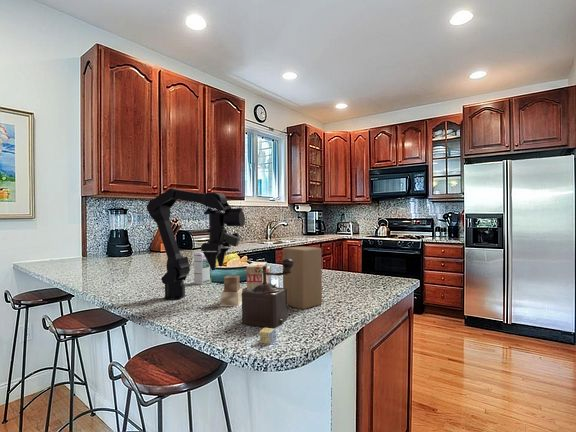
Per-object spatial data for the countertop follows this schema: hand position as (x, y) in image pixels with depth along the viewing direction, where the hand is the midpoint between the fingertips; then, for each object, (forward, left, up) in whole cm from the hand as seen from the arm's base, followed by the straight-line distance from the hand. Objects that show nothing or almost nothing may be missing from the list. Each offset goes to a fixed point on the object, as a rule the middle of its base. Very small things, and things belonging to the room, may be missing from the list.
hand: (217, 268), depth 126 cm
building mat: (+5, -6, -12) cm, 15 cm away
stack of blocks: (+13, +16, -12) cm, 24 cm away
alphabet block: (+25, -40, -12) cm, 49 cm away
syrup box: (-17, +32, -12) cm, 38 cm away
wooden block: (+32, -4, -12) cm, 35 cm away
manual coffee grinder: (+23, -22, -12) cm, 34 cm away
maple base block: (+7, -5, -12) cm, 15 cm away
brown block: (+7, -6, -7) cm, 11 cm away
